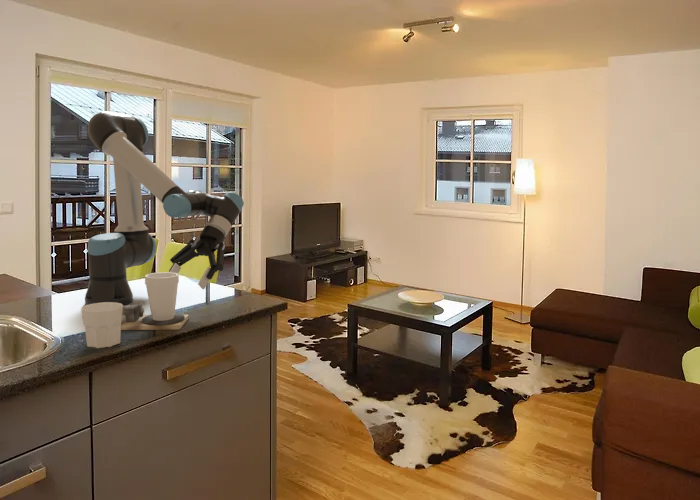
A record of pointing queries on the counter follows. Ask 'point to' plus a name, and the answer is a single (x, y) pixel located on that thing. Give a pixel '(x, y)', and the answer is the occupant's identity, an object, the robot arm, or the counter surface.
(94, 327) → the cup
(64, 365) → the counter surface
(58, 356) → the counter surface
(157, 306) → the foam cup
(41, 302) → the counter surface
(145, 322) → the shaft stand
